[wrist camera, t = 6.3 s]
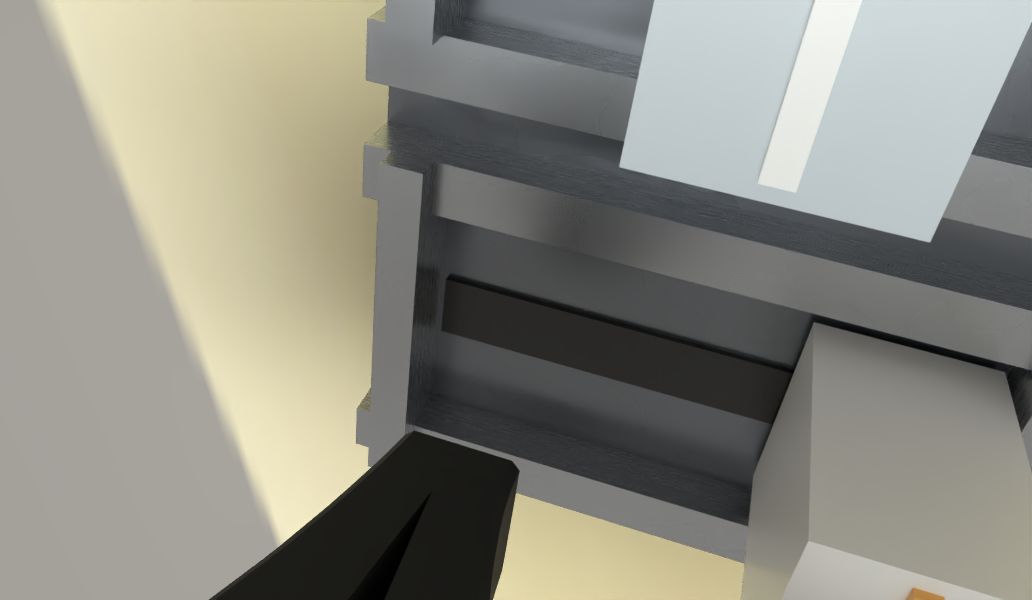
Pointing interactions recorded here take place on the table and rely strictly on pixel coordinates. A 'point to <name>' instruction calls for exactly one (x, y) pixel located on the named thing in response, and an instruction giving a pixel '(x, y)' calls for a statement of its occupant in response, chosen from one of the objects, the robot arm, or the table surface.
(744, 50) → the block
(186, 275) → the table surface
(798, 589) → the fader
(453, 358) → the grey divided tray
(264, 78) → the table surface
